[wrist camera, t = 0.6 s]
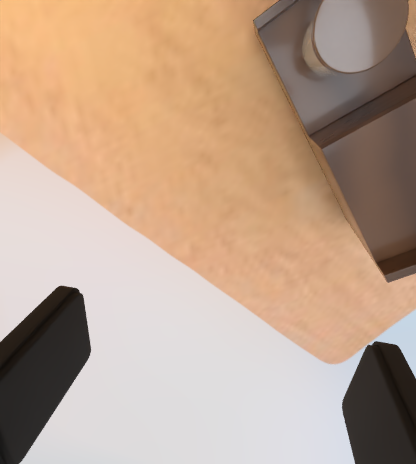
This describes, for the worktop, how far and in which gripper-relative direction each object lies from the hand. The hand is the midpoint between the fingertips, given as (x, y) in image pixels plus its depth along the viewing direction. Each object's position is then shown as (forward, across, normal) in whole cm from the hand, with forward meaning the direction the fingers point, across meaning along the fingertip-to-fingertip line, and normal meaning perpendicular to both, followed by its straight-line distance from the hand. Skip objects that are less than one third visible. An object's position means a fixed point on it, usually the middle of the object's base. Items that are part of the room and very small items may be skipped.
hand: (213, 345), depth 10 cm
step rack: (+28, -9, -7) cm, 30 cm away
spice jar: (+24, -6, -12) cm, 27 cm away
